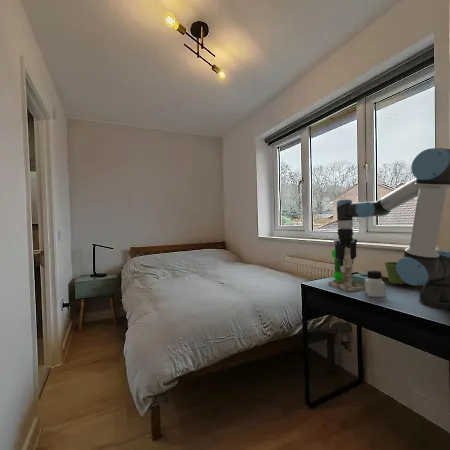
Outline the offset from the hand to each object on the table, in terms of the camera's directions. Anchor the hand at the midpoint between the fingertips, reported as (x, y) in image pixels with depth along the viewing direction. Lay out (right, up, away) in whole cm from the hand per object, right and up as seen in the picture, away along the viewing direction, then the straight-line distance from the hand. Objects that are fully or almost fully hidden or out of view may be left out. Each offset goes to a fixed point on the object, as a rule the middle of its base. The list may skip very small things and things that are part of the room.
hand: (346, 271), depth 148 cm
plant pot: (+30, -8, +5) cm, 31 cm away
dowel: (0, -7, 0) cm, 7 cm away
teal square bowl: (+11, -9, +2) cm, 14 cm away
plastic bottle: (+4, -9, +14) cm, 17 cm away
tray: (0, -9, 0) cm, 9 cm away
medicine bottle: (+8, -10, -14) cm, 19 cm away
